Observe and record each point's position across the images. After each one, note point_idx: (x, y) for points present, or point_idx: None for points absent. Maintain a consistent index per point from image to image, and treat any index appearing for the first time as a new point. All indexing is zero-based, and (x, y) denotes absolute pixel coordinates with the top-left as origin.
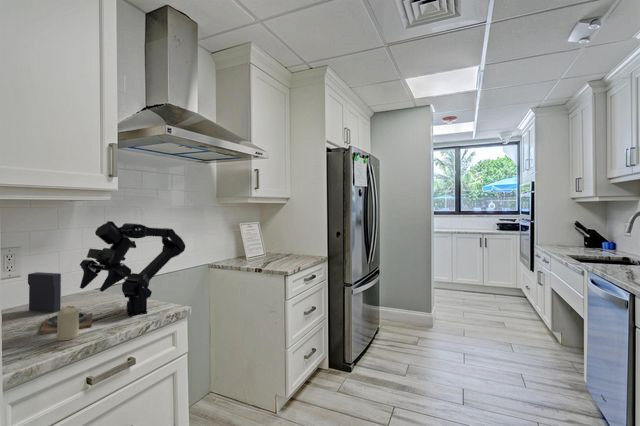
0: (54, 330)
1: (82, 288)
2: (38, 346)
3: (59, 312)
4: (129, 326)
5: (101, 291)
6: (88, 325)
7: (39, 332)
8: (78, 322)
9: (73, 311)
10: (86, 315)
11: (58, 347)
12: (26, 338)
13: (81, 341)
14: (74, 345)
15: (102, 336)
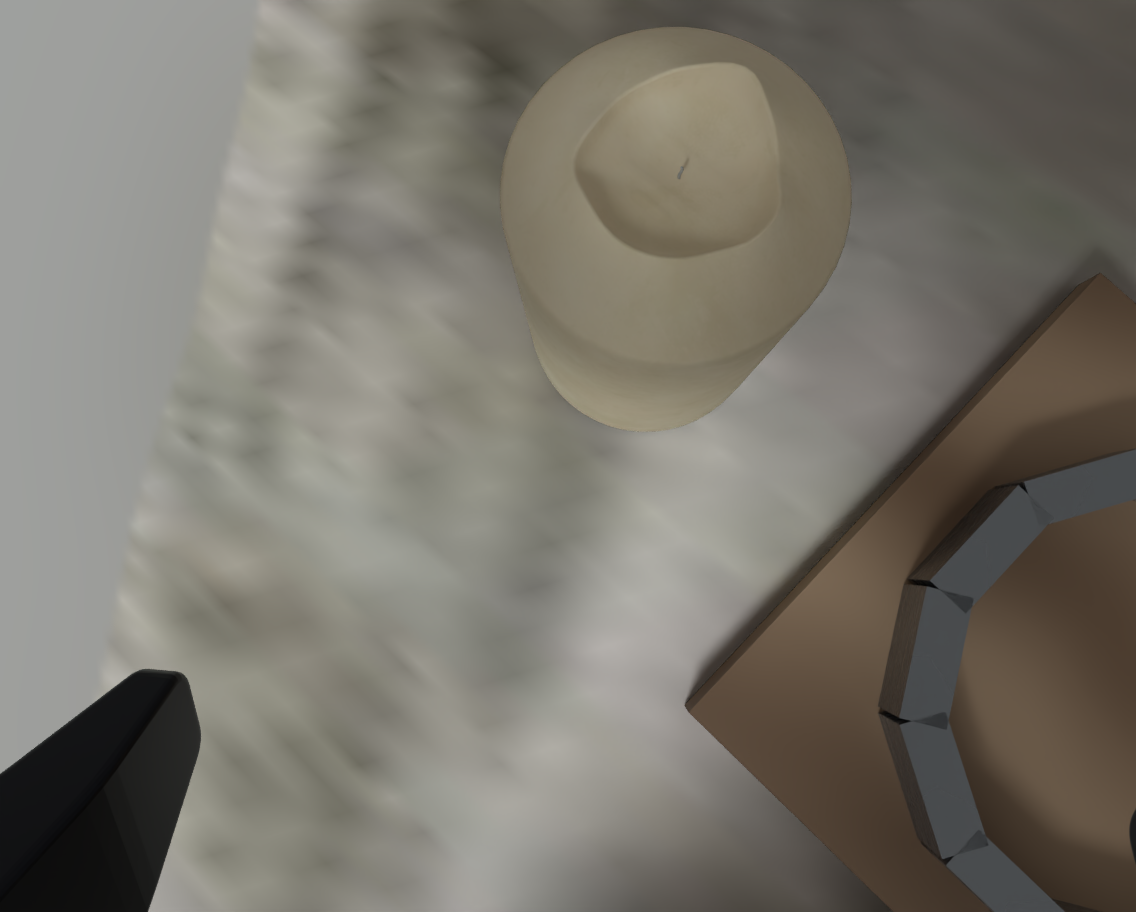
0: (984, 394)
1: (1131, 817)
2: (715, 26)
3: (719, 39)
4: (182, 896)
5: (190, 725)
6: (712, 684)
7: (1095, 278)
8: (543, 348)
9: (519, 166)
10: (978, 886)
11: (471, 71)
12: (1100, 152)
13: (371, 276)
14: (346, 164)
15: (254, 477)
